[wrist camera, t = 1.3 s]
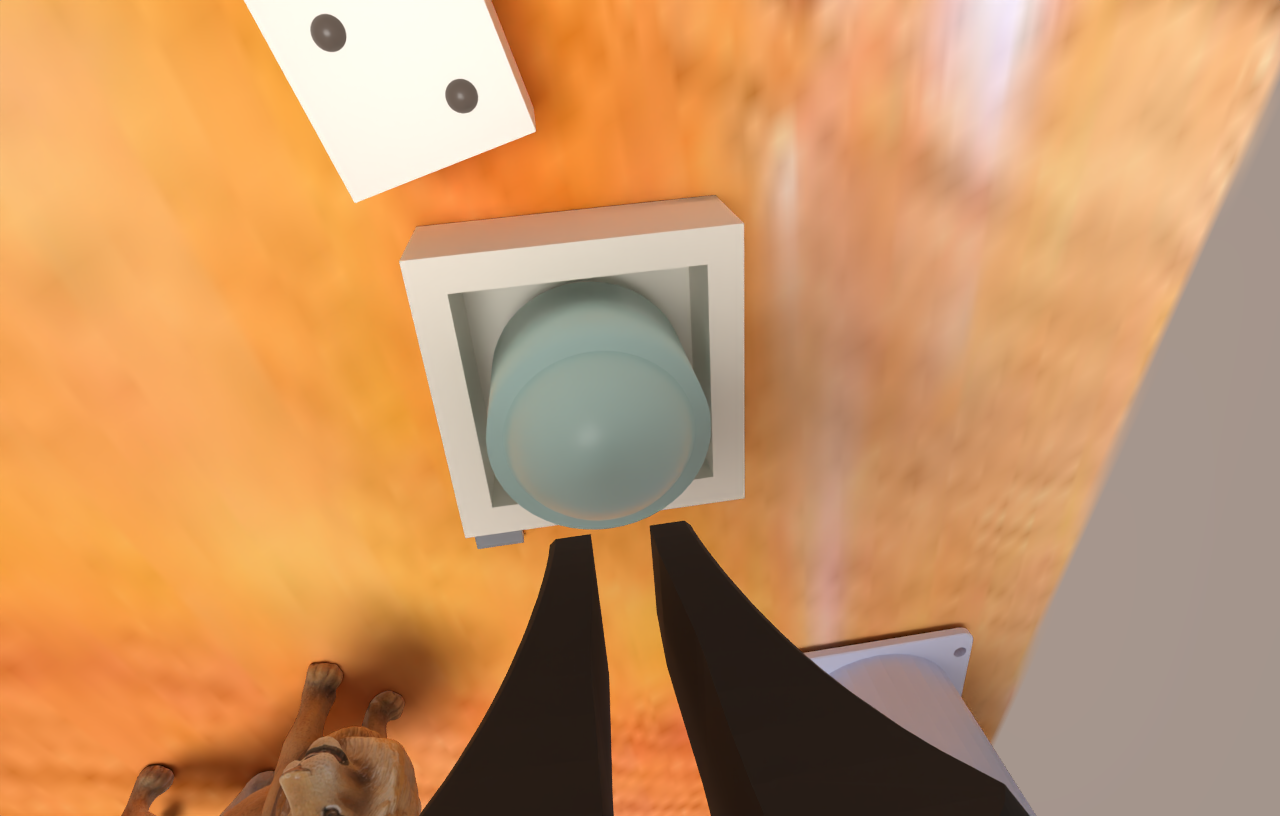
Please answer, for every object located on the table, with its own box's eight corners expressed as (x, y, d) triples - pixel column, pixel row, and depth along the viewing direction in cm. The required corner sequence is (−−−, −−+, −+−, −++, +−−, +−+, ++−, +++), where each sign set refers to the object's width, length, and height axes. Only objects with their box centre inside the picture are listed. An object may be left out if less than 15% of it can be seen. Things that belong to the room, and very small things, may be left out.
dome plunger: (687, 441, 21) (728, 551, 17) (508, 465, 21) (504, 585, 17) (678, 270, 19) (725, 349, 15) (475, 294, 18) (460, 382, 14)
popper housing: (720, 444, 24) (744, 498, 21) (471, 478, 23) (465, 538, 20) (715, 195, 20) (743, 223, 17) (416, 226, 19) (399, 261, 17)
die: (533, 108, 18) (536, 132, 15) (386, 166, 18) (352, 205, 15) (462, -73, 16) (445, -96, 13) (299, -6, 17) (234, -10, 13)
